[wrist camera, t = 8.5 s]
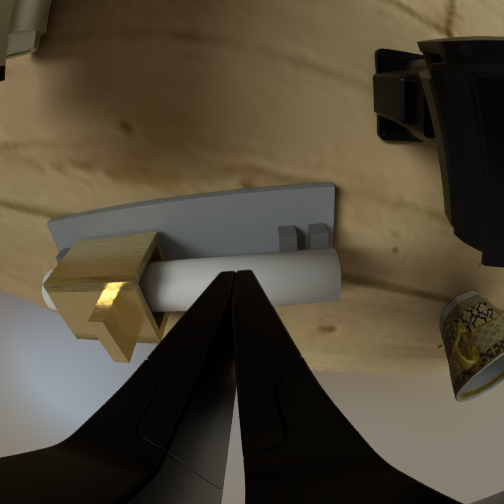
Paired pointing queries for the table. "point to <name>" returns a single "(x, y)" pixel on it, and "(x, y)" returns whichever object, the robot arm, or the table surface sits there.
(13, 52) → the ball valve
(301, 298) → the pipe run
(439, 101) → the robot arm
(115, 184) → the table surface
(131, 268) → the coupling
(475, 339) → the ceramic cup
